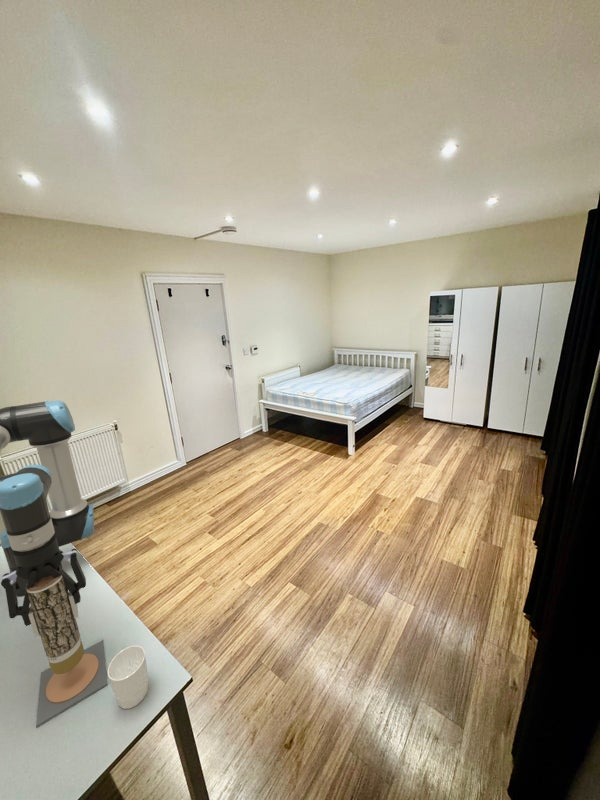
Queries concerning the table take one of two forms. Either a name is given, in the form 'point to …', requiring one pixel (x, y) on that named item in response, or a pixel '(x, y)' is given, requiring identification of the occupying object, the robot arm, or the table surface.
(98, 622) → the table surface
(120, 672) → the white cup
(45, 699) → the coaster
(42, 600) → the brown bark cylinder
